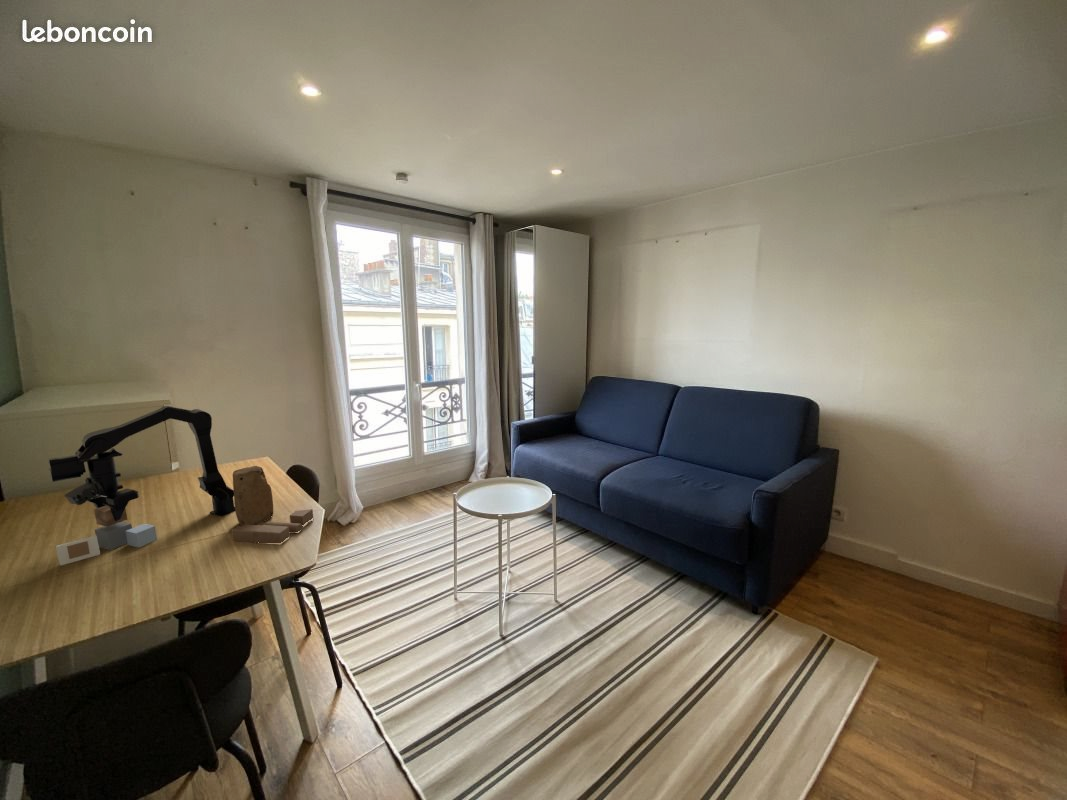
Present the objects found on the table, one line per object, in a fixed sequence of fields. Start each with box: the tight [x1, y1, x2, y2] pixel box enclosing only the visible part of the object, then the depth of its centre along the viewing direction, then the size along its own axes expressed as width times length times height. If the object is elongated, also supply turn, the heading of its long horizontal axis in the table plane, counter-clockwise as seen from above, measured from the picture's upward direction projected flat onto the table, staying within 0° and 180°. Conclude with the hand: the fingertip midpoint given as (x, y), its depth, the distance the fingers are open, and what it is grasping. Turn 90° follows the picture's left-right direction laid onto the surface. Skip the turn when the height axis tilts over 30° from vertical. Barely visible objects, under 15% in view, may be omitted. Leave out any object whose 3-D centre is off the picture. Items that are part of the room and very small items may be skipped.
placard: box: [55, 534, 101, 566], centre depth 119 cm, size 1×8×6 cm, turn 139°
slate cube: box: [125, 523, 158, 549], centre depth 129 cm, size 5×5×5 cm
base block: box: [94, 521, 133, 551], centre depth 128 cm, size 6×6×6 cm
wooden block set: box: [231, 508, 314, 544], centre depth 138 cm, size 17×6×18 cm
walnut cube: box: [93, 506, 128, 527], centre depth 127 cm, size 5×5×5 cm
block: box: [232, 465, 274, 526], centre depth 143 cm, size 11×8×20 cm
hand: (111, 518), depth 127 cm, fingers closed on walnut cube, 5 cm apart
